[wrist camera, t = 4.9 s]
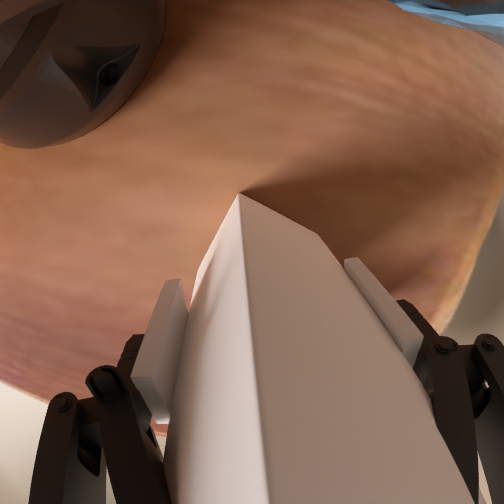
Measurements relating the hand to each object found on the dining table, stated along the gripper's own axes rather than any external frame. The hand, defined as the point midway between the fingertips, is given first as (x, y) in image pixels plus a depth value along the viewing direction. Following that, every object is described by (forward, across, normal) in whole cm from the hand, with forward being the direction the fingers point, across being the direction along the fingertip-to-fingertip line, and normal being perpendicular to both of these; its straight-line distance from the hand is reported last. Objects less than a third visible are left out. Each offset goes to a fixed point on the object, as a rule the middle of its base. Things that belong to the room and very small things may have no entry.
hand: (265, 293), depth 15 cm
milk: (+5, 0, 0) cm, 5 cm away
